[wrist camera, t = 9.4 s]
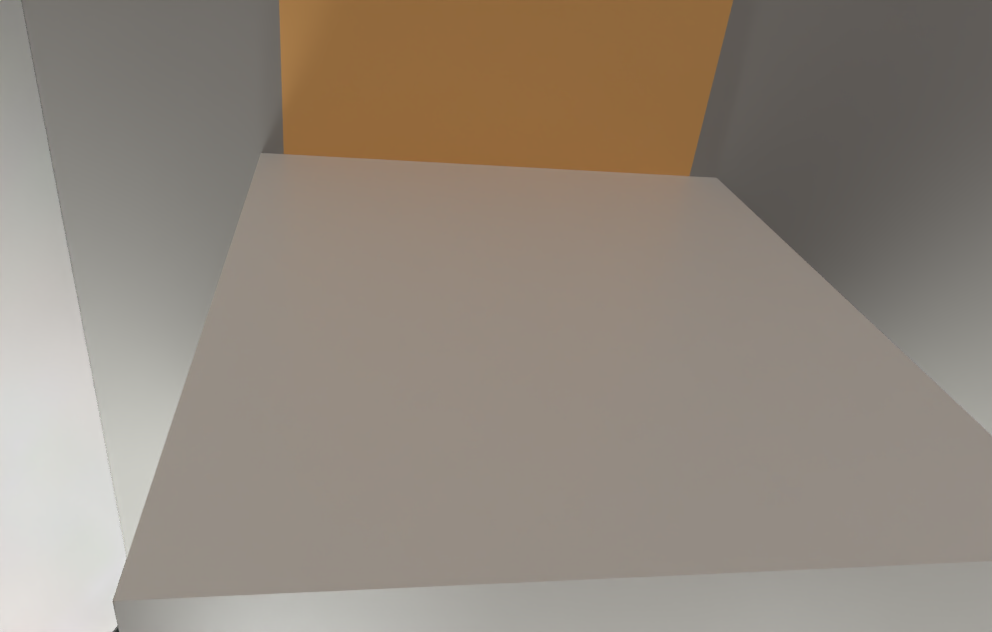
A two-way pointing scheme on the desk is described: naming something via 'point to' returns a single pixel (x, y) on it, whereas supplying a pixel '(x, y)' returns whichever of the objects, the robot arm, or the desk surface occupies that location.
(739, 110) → the grey flat board
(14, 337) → the desk surface
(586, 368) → the white block
